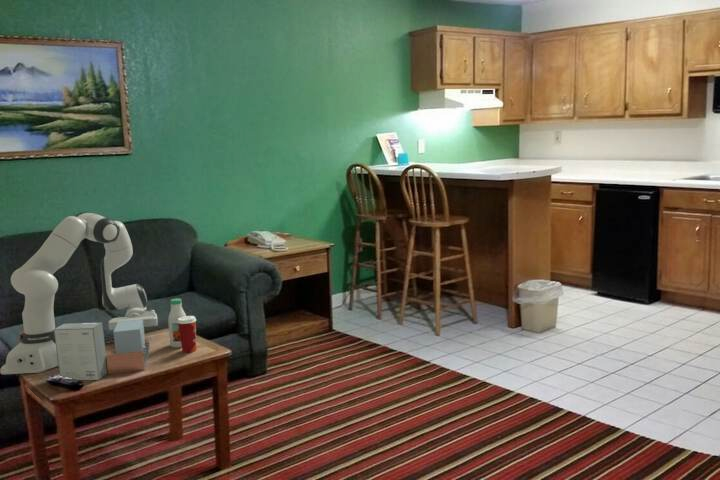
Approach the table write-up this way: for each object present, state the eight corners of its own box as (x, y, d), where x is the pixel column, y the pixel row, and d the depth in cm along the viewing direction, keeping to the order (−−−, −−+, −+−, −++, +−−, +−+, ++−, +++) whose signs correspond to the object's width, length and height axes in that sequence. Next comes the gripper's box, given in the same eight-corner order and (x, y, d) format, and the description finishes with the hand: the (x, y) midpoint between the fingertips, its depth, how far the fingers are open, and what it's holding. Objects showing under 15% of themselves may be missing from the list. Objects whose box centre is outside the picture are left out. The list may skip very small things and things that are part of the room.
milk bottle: (167, 348, 274) (163, 301, 271) (175, 342, 282) (171, 297, 278) (184, 348, 273) (180, 301, 270) (192, 342, 280) (188, 297, 277)
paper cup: (201, 351, 268) (198, 318, 266) (183, 355, 264) (180, 321, 262) (194, 346, 275) (192, 314, 272) (177, 350, 271) (174, 317, 268)
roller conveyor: (108, 374, 246) (106, 356, 245) (117, 350, 274) (115, 334, 272) (144, 369, 249) (142, 352, 248) (149, 346, 276) (148, 331, 275)
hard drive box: (109, 373, 247) (103, 322, 244) (99, 380, 240) (93, 328, 237) (70, 373, 249) (64, 322, 246) (59, 380, 242) (52, 328, 238)
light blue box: (115, 353, 259) (113, 331, 257) (119, 343, 272) (117, 322, 271) (142, 350, 261) (140, 329, 259) (144, 340, 274) (142, 319, 273)
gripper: (109, 314, 287) (105, 322, 274) (158, 309, 292) (156, 317, 278) (111, 327, 288) (106, 337, 275) (159, 323, 293) (157, 331, 279)
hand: (132, 327), depth 277 cm, fingers closed
